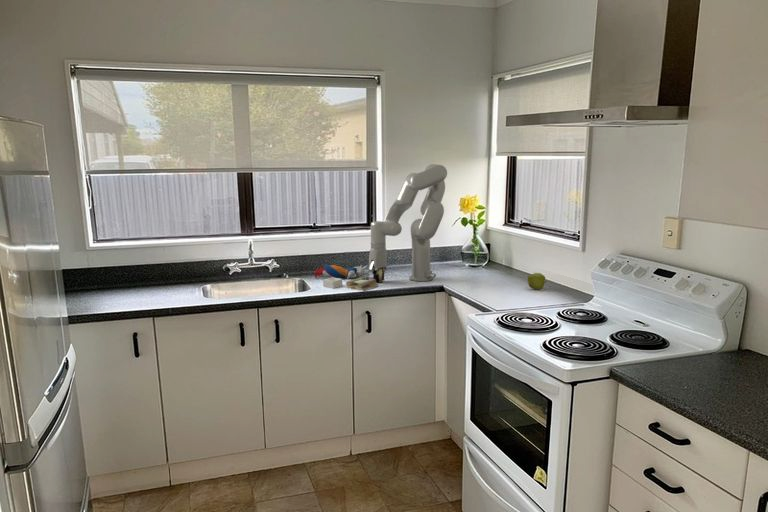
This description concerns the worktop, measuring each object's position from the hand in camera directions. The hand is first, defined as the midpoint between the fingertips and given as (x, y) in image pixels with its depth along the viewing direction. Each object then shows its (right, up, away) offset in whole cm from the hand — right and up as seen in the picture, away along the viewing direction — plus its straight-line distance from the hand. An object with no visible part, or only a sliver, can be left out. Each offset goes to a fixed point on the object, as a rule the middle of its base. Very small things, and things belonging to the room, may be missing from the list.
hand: (378, 280), depth 291 cm
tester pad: (-9, 0, -10) cm, 13 cm away
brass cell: (0, -1, 0) cm, 1 cm away
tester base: (-9, -3, -9) cm, 13 cm away
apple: (+76, -3, -20) cm, 79 cm away
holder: (-23, -2, -7) cm, 24 cm away
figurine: (-19, 0, +11) cm, 22 cm away
